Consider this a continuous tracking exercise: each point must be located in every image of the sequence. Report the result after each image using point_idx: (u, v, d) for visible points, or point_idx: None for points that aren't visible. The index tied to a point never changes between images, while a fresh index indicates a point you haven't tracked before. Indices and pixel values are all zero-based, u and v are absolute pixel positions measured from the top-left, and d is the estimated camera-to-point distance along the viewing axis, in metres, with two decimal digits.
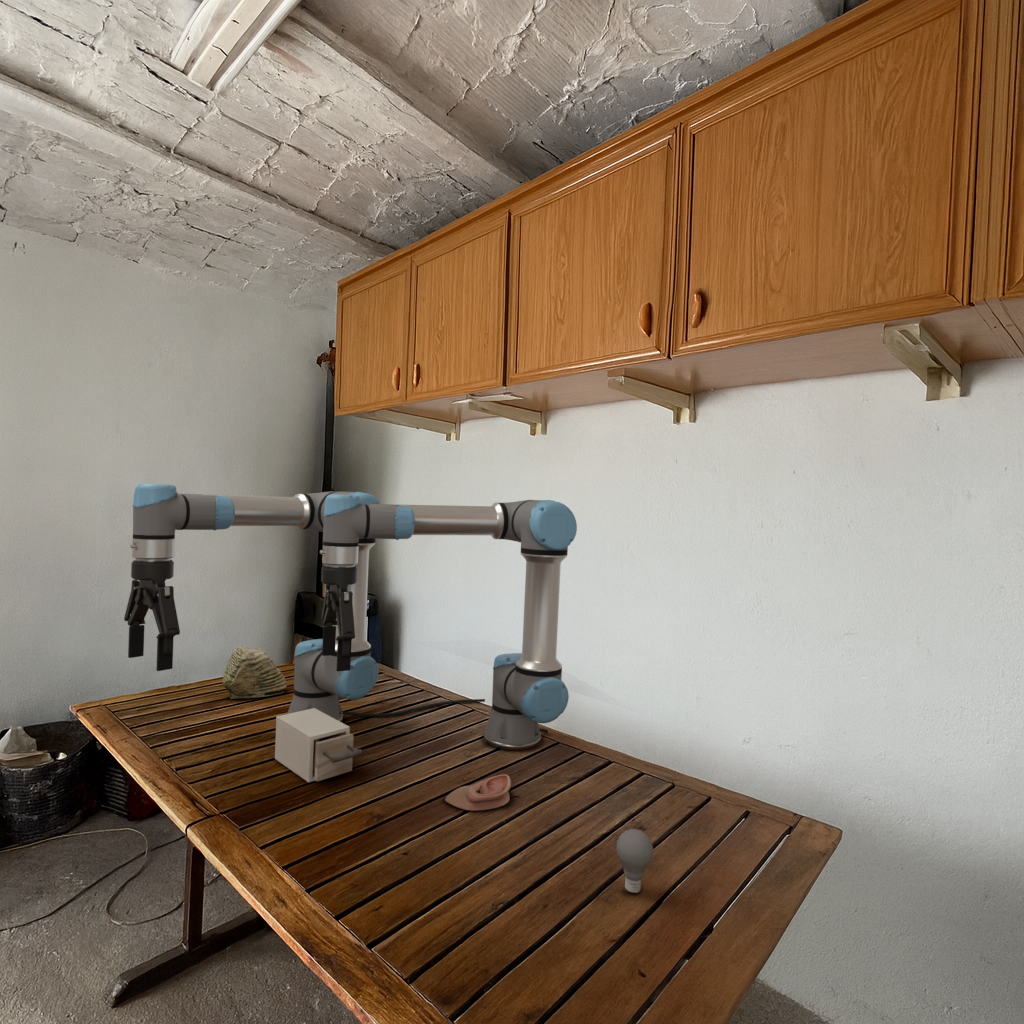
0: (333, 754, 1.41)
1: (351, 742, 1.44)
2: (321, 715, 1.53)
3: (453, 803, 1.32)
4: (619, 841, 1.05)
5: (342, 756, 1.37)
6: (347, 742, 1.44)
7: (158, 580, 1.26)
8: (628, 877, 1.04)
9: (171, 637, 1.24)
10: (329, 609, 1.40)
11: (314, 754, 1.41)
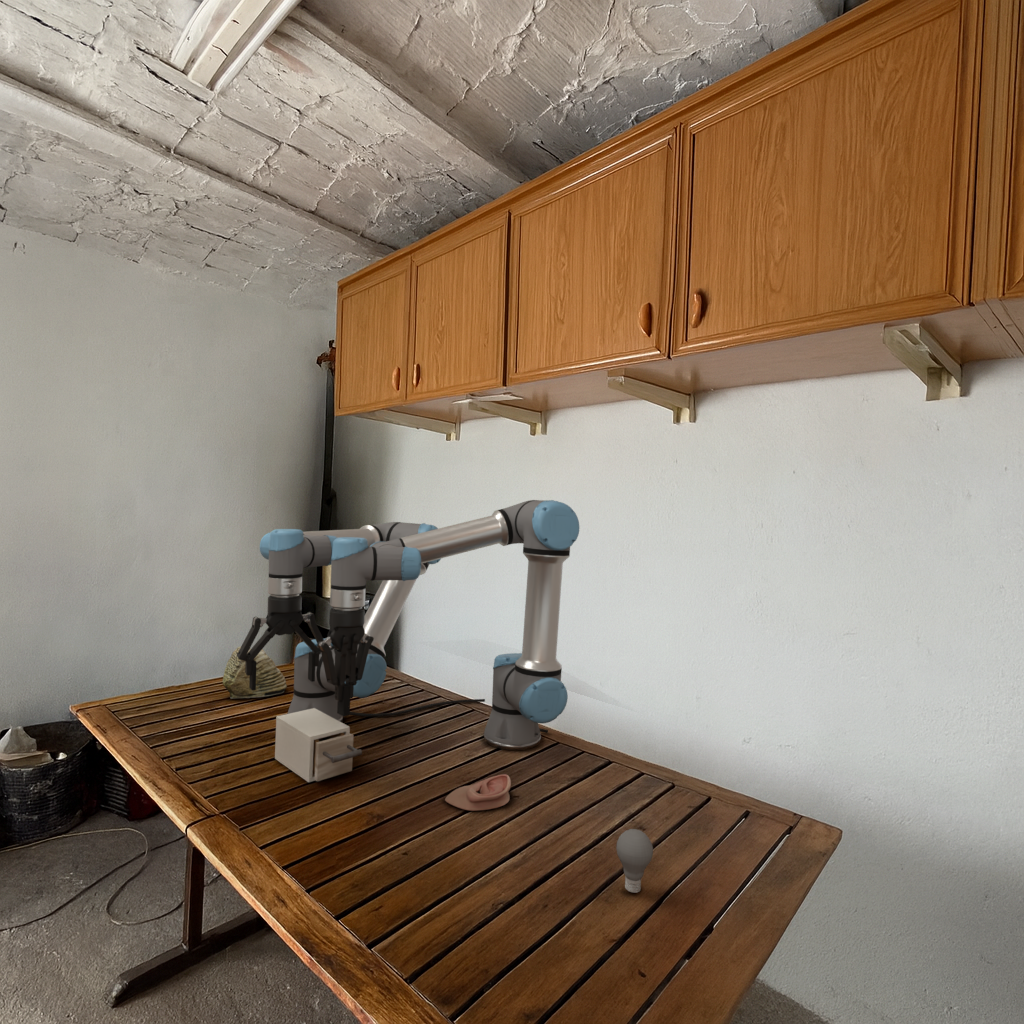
0: (333, 754, 1.41)
1: (351, 742, 1.44)
2: (321, 715, 1.53)
3: (453, 803, 1.32)
4: (619, 841, 1.05)
5: (342, 756, 1.37)
6: (347, 742, 1.44)
7: None
8: (628, 877, 1.04)
9: None
10: None
11: (314, 754, 1.41)
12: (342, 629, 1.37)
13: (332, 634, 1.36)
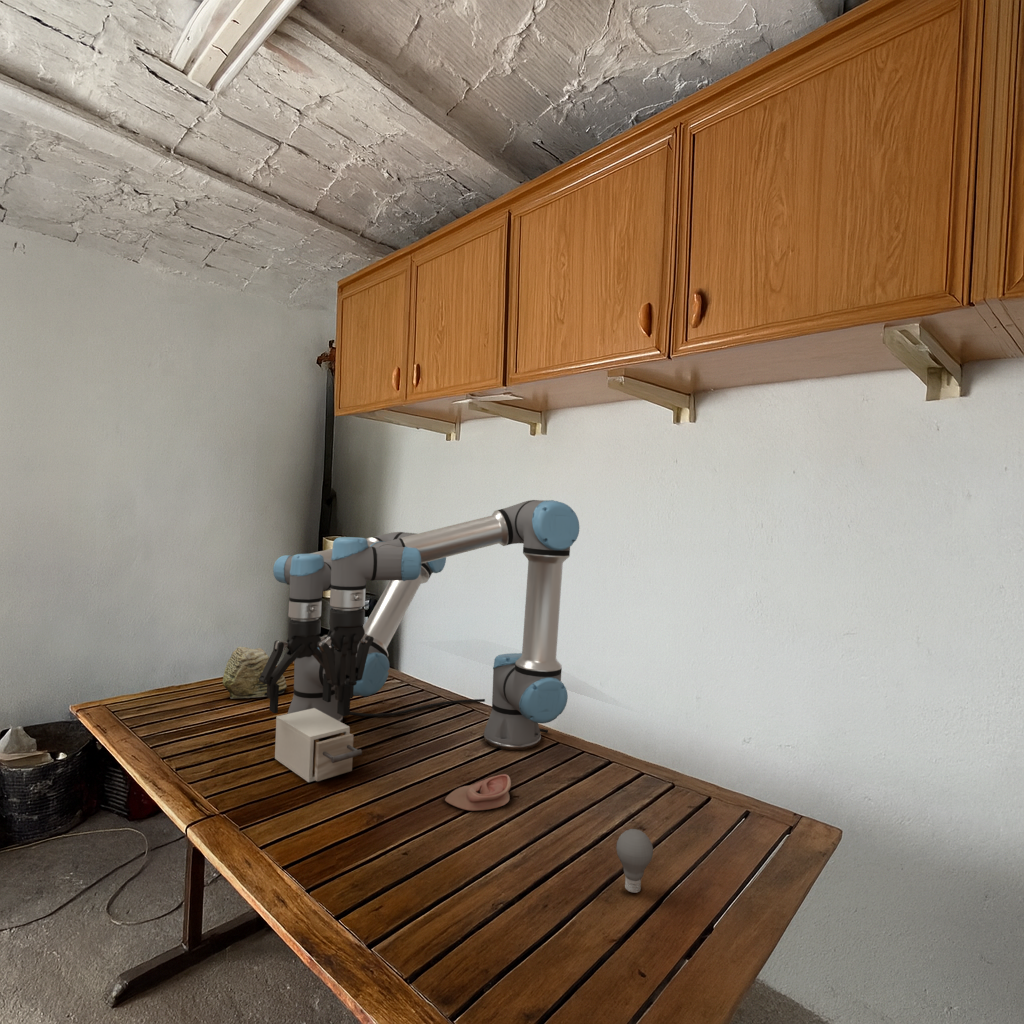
0: (333, 754, 1.41)
1: (351, 742, 1.44)
2: (321, 715, 1.53)
3: (453, 803, 1.32)
4: (619, 841, 1.05)
5: (342, 756, 1.37)
6: (347, 742, 1.44)
7: None
8: (628, 877, 1.04)
9: None
10: None
11: (314, 754, 1.41)
12: (342, 629, 1.37)
13: (332, 634, 1.36)
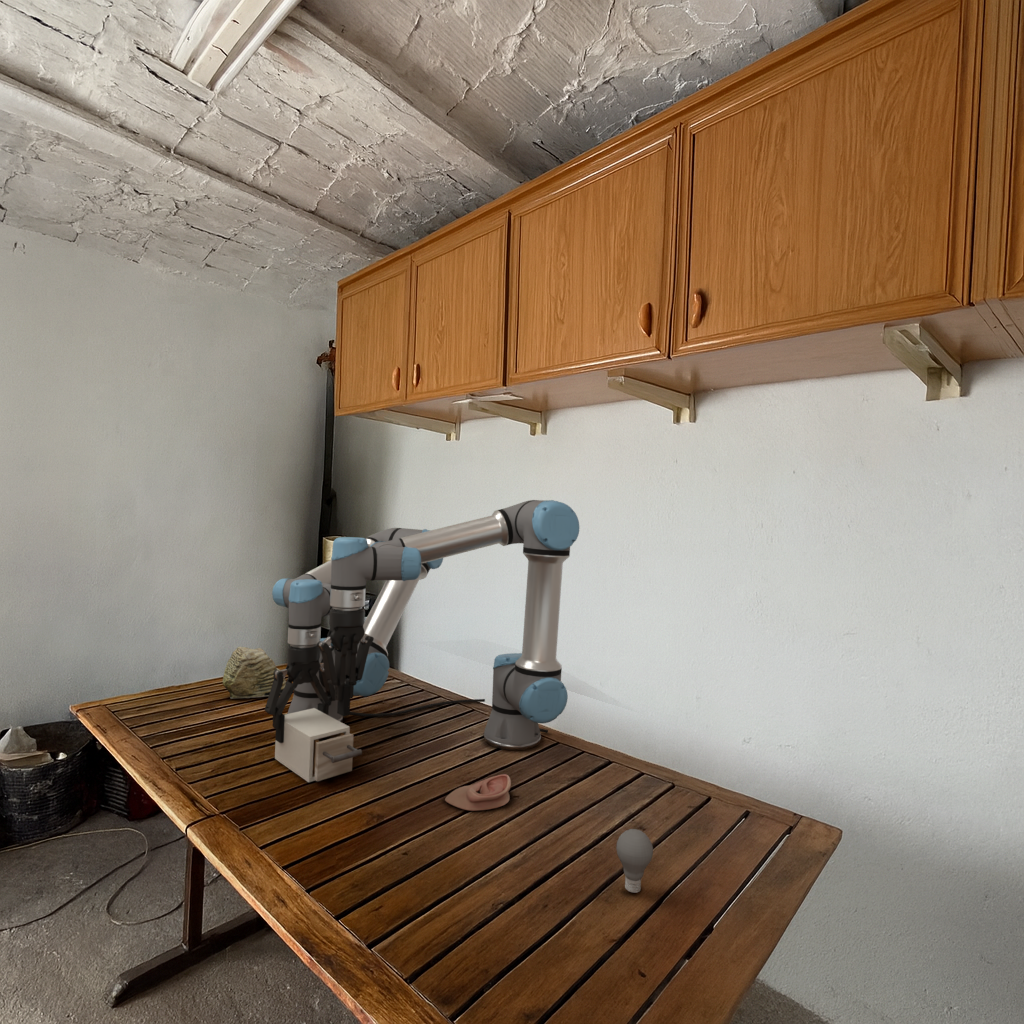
0: (333, 754, 1.41)
1: (351, 742, 1.44)
2: (321, 715, 1.53)
3: (453, 803, 1.32)
4: (619, 841, 1.05)
5: (342, 756, 1.37)
6: (347, 742, 1.44)
7: None
8: (628, 877, 1.04)
9: None
10: None
11: (314, 754, 1.41)
12: (342, 629, 1.37)
13: (332, 634, 1.36)
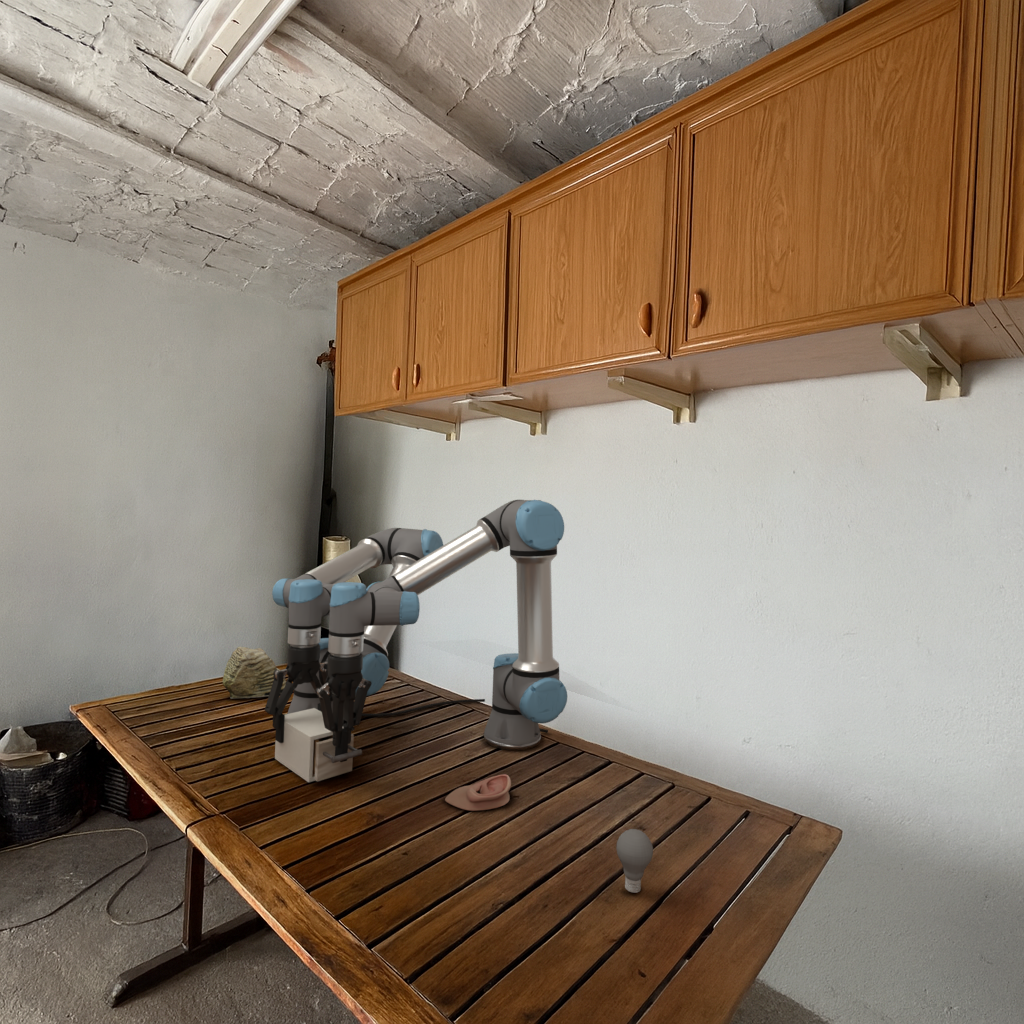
0: (333, 754, 1.41)
1: (351, 742, 1.44)
2: (321, 715, 1.53)
3: (453, 803, 1.32)
4: (619, 841, 1.05)
5: (342, 756, 1.37)
6: None
7: None
8: (628, 877, 1.04)
9: None
10: None
11: (314, 754, 1.41)
12: (340, 675, 1.38)
13: (330, 681, 1.36)
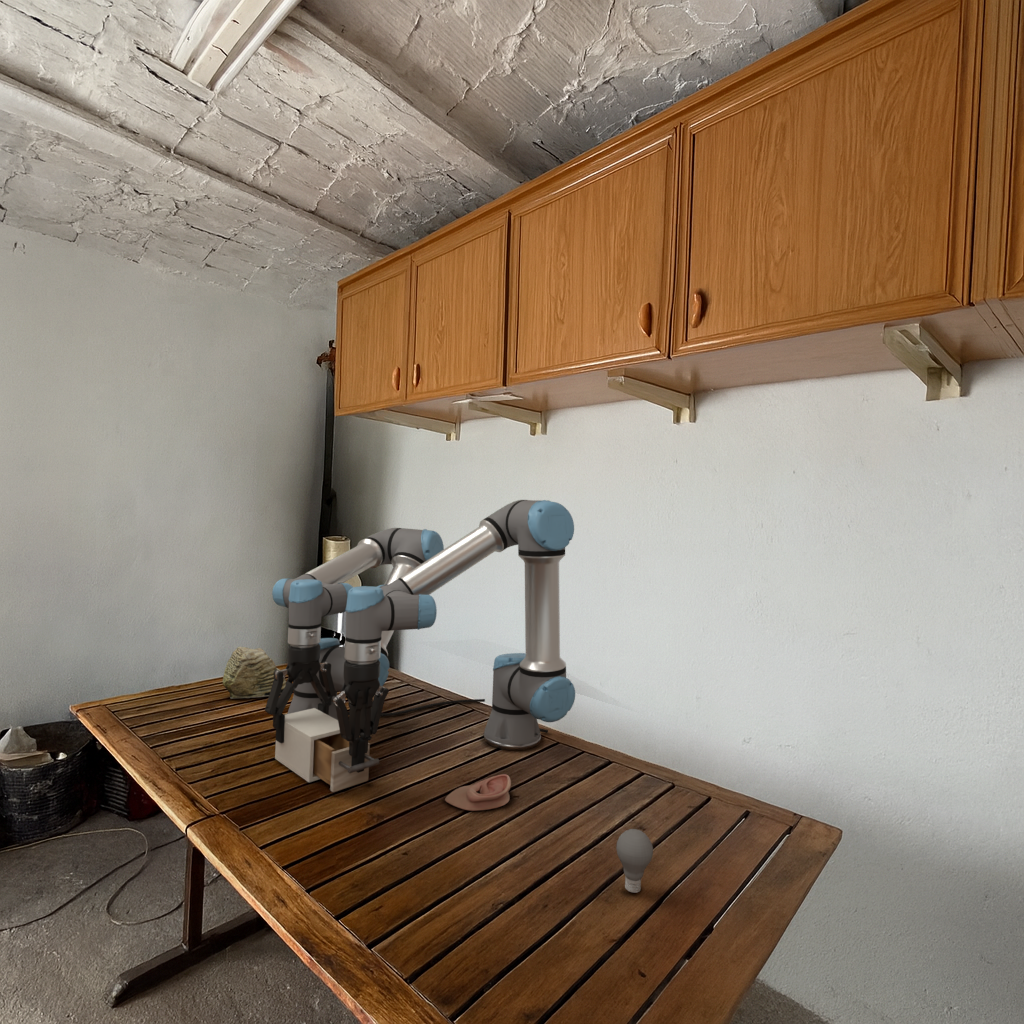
0: (349, 764, 1.37)
1: (367, 751, 1.40)
2: (322, 715, 1.53)
3: (453, 803, 1.32)
4: (619, 841, 1.05)
5: (359, 766, 1.32)
6: None
7: None
8: (628, 877, 1.04)
9: None
10: None
11: (329, 764, 1.37)
12: (357, 683, 1.33)
13: (347, 689, 1.31)
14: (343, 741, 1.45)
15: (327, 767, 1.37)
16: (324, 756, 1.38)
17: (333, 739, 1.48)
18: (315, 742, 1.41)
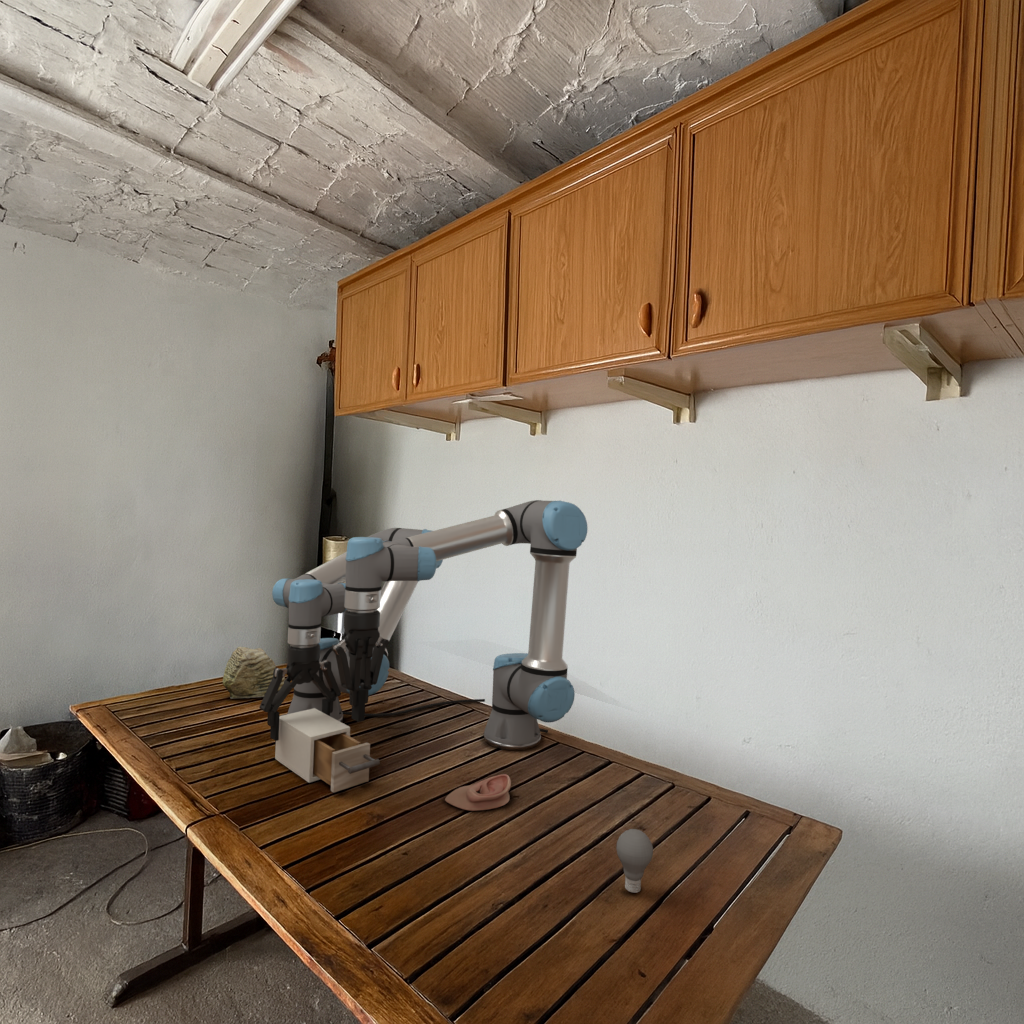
0: (349, 764, 1.36)
1: (368, 751, 1.40)
2: (322, 715, 1.53)
3: (453, 803, 1.32)
4: (619, 841, 1.05)
5: (359, 767, 1.32)
6: (364, 751, 1.39)
7: None
8: (628, 877, 1.04)
9: None
10: None
11: (330, 764, 1.36)
12: (357, 632, 1.33)
13: (347, 637, 1.32)
14: (344, 742, 1.44)
15: (327, 767, 1.37)
16: (324, 756, 1.38)
17: (334, 739, 1.48)
18: (315, 742, 1.41)
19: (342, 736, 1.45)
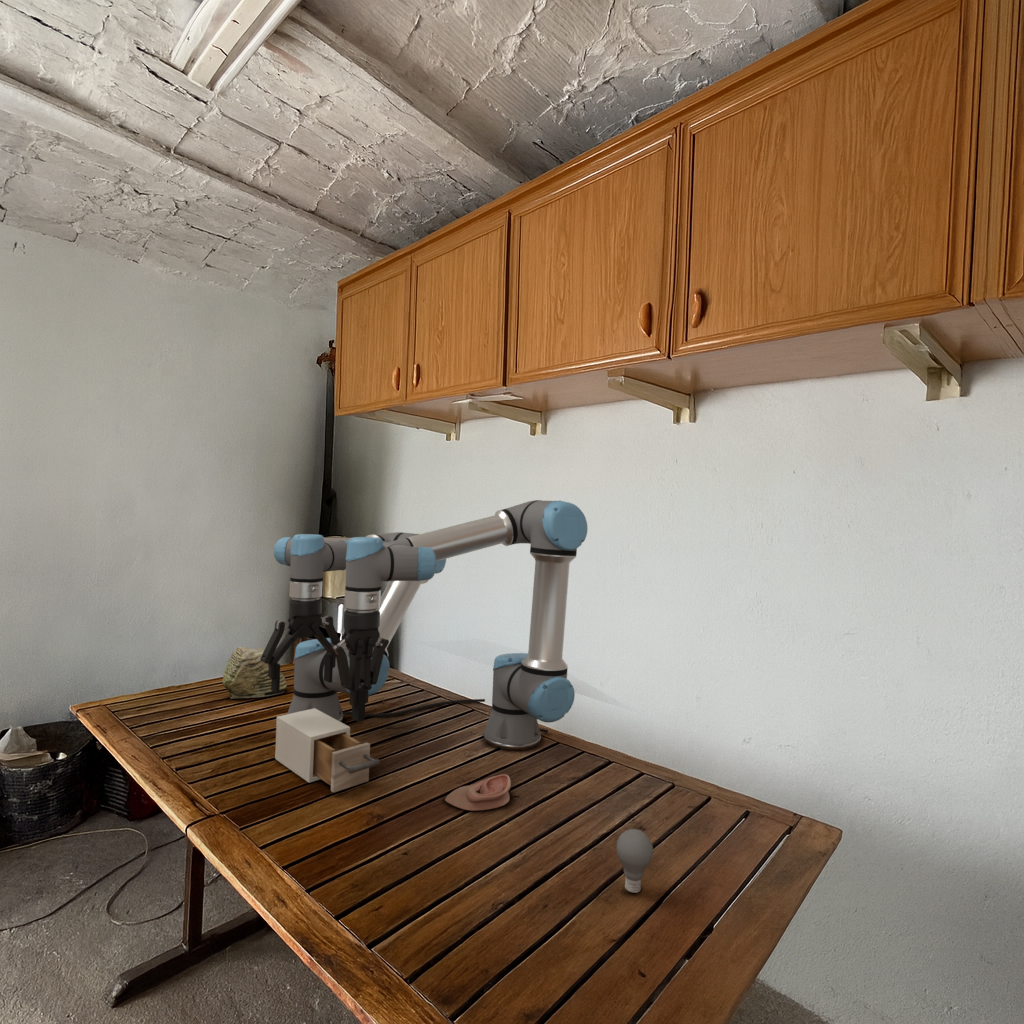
0: (349, 764, 1.36)
1: (368, 751, 1.40)
2: (322, 715, 1.53)
3: (453, 803, 1.32)
4: (619, 841, 1.05)
5: (359, 767, 1.32)
6: (364, 751, 1.39)
7: None
8: (628, 877, 1.04)
9: None
10: None
11: (330, 764, 1.36)
12: (357, 632, 1.33)
13: (347, 637, 1.32)
14: (344, 742, 1.44)
15: (327, 767, 1.37)
16: (324, 756, 1.38)
17: (334, 739, 1.48)
18: (315, 742, 1.41)
19: (342, 736, 1.45)
